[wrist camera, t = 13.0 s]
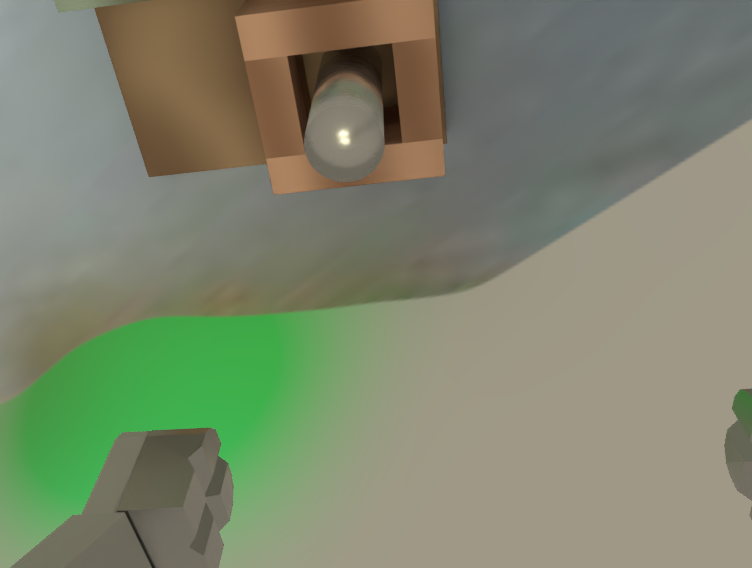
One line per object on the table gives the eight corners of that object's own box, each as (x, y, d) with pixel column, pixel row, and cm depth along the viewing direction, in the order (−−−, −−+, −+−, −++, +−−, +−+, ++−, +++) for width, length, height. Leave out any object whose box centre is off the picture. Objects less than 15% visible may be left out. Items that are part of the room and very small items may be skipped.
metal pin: (377, 32, 34) (379, 101, 25) (384, 94, 35) (388, 177, 27) (315, 40, 34) (297, 110, 25) (325, 100, 35) (311, 186, 27)
